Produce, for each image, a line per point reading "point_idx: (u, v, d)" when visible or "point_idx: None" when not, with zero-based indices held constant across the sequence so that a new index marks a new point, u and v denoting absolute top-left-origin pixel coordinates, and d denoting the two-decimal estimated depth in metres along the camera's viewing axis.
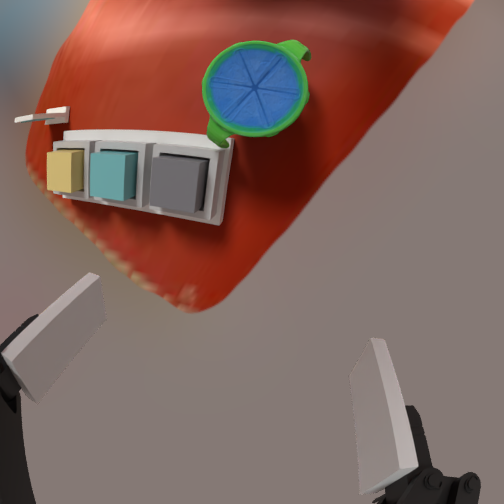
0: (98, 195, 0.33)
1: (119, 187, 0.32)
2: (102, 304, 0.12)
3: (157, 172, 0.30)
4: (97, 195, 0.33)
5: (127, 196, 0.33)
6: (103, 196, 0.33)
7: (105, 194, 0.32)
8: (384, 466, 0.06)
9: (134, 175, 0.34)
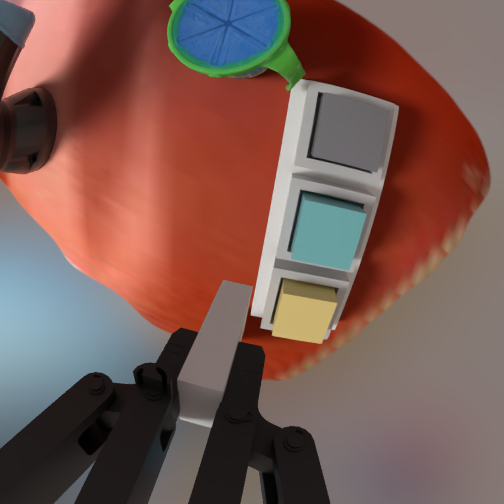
0: (351, 255, 0.26)
1: (347, 217, 0.24)
2: None
3: (334, 151, 0.22)
4: (351, 257, 0.26)
5: (360, 210, 0.25)
6: (354, 247, 0.25)
7: (352, 243, 0.25)
8: None
9: (333, 200, 0.26)
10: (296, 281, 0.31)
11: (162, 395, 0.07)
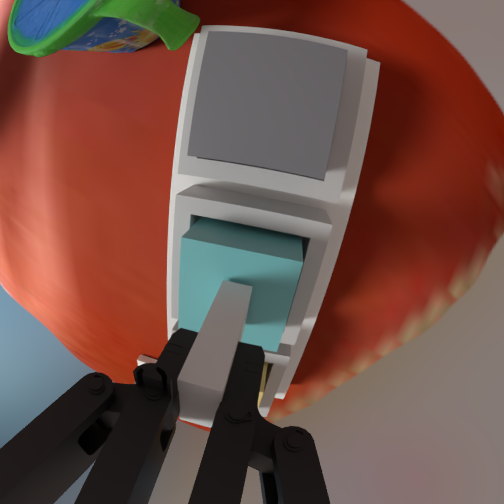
0: (278, 331, 0.15)
1: (264, 268, 0.13)
2: None
3: (227, 141, 0.11)
4: (278, 333, 0.15)
5: (295, 252, 0.14)
6: (283, 318, 0.14)
7: (278, 311, 0.14)
8: None
9: (250, 231, 0.15)
10: None
11: (162, 395, 0.07)
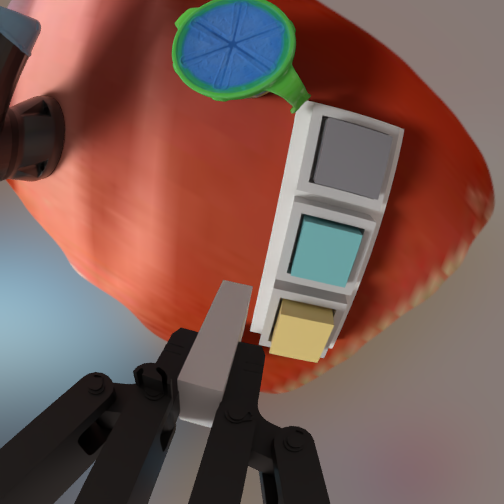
0: (347, 273, 0.27)
1: (344, 238, 0.26)
2: None
3: (335, 178, 0.23)
4: (347, 275, 0.27)
5: (357, 231, 0.27)
6: (350, 266, 0.27)
7: (348, 262, 0.27)
8: None
9: (332, 221, 0.28)
10: (295, 301, 0.31)
11: (162, 395, 0.07)
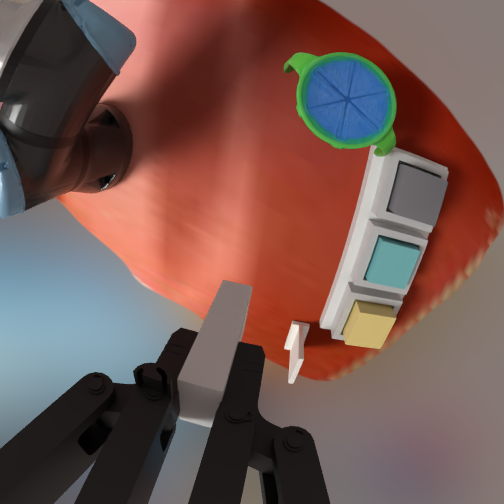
0: (407, 279, 0.33)
1: (408, 253, 0.32)
2: None
3: (409, 211, 0.29)
4: (407, 280, 0.34)
5: (415, 247, 0.33)
6: (410, 273, 0.33)
7: (409, 270, 0.33)
8: None
9: (396, 239, 0.34)
10: (365, 301, 0.37)
11: (162, 395, 0.07)
